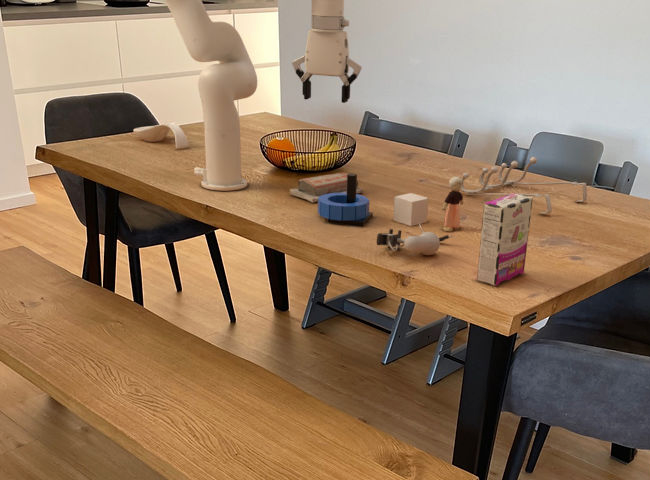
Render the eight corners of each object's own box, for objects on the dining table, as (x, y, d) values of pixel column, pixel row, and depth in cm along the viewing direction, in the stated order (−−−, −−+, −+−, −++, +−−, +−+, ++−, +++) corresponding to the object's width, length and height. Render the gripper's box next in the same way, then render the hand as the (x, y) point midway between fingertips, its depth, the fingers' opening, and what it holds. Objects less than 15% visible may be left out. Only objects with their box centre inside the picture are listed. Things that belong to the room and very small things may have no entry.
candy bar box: (504, 268, 176) (513, 192, 169) (524, 274, 173) (534, 197, 166) (474, 280, 169) (483, 201, 161) (494, 287, 166) (504, 207, 158)
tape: (311, 217, 200) (311, 202, 198) (327, 204, 211) (327, 190, 209) (360, 223, 197) (360, 208, 196) (373, 209, 208) (374, 195, 206)
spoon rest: (127, 139, 277) (125, 117, 273) (157, 135, 284) (155, 113, 281) (168, 151, 263) (167, 128, 259) (198, 146, 270) (197, 124, 267)
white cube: (409, 216, 208) (411, 192, 206) (426, 222, 205) (428, 198, 202) (392, 220, 205) (394, 196, 202) (410, 226, 201) (412, 201, 198)
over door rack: (501, 182, 244) (505, 149, 239) (588, 203, 226) (594, 167, 222) (457, 194, 229) (460, 159, 225) (547, 217, 212) (552, 179, 208)
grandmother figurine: (451, 233, 197) (456, 180, 191) (437, 230, 198) (442, 178, 192) (465, 226, 202) (471, 174, 196) (451, 223, 204) (456, 172, 198)
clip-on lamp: (414, 249, 194) (371, 250, 180) (417, 222, 193) (374, 221, 178) (458, 256, 188) (416, 257, 173) (461, 227, 186) (419, 227, 172)
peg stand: (327, 222, 201) (328, 176, 196) (338, 213, 208) (340, 168, 203) (362, 226, 199) (364, 180, 193) (372, 217, 206) (375, 172, 201)
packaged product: (340, 168, 230) (364, 176, 224) (340, 186, 232) (363, 194, 226) (289, 177, 219) (312, 185, 213) (289, 195, 222) (312, 203, 215)
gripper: (367, 25, 194) (364, 101, 202) (298, 21, 198) (298, 95, 206) (357, 27, 188) (355, 105, 196) (287, 23, 192) (287, 99, 200)
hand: (326, 100), depth 201 cm, fingers open, 9 cm apart
